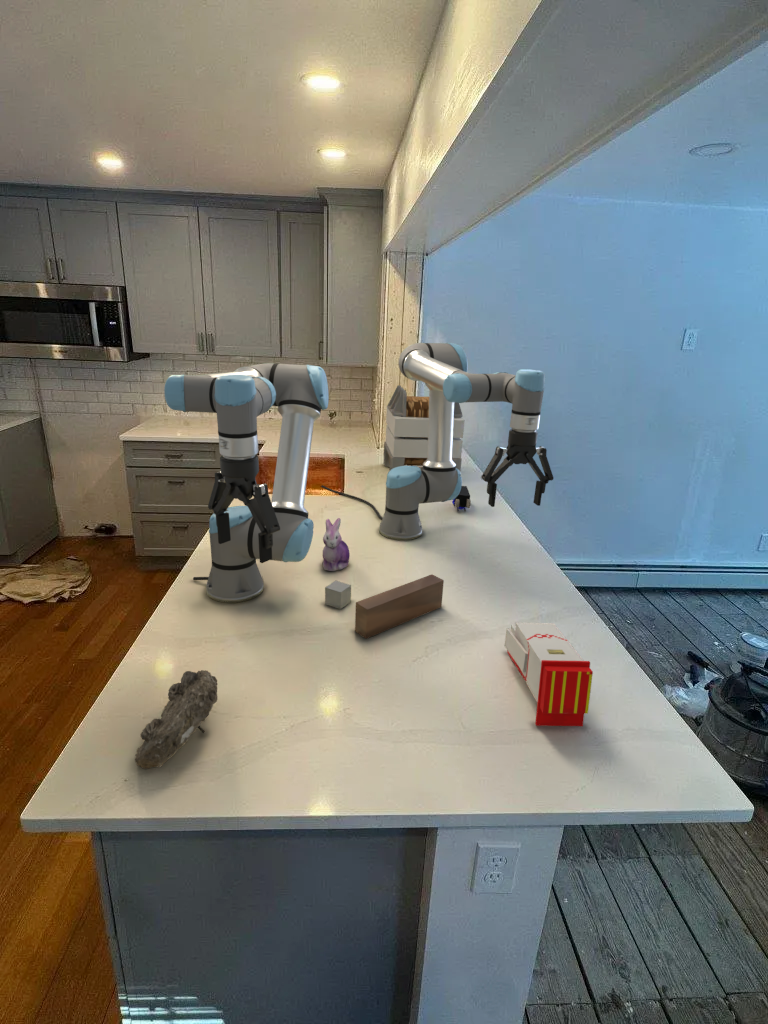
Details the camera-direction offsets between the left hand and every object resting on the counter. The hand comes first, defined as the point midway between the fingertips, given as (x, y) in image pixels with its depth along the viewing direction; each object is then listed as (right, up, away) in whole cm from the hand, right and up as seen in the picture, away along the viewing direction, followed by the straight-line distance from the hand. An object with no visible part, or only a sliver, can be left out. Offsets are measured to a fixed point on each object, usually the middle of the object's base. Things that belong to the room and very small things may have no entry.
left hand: (244, 551), depth 121 cm
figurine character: (+61, +10, +108) cm, 124 cm away
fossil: (-7, -32, -17) cm, 37 cm away
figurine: (+15, -8, +52) cm, 55 cm away
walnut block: (+34, -19, +24) cm, 46 cm away
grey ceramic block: (+17, -16, +31) cm, 39 cm away
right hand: (+66, +10, +37) cm, 77 cm away
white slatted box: (+47, +27, +154) cm, 163 cm away
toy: (+63, -29, +1) cm, 69 cm away
